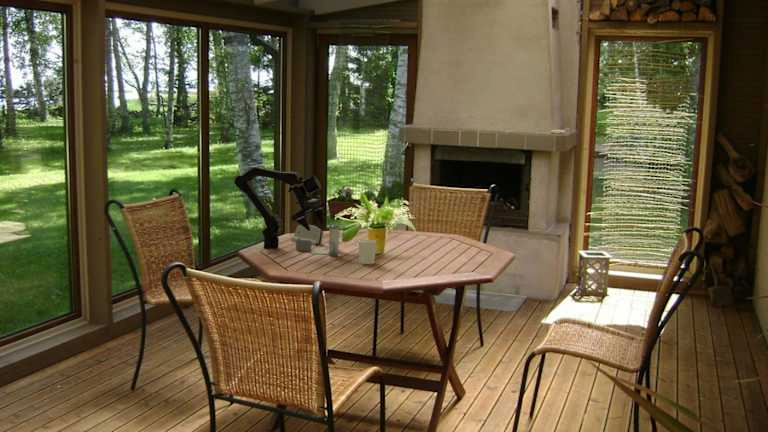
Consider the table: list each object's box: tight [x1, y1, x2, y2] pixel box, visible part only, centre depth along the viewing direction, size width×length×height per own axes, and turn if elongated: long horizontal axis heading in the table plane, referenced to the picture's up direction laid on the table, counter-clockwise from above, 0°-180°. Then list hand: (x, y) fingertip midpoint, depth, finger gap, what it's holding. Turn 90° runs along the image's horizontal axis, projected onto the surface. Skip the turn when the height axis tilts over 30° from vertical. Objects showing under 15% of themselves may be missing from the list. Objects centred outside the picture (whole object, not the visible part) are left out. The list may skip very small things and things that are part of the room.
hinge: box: [290, 224, 324, 247], centre depth 411 cm, size 17×5×10 cm, turn 53°
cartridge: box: [328, 224, 341, 258], centre depth 382 cm, size 5×5×14 cm
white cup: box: [358, 238, 377, 265], centre depth 370 cm, size 8×8×10 cm
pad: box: [310, 249, 329, 255], centre depth 388 cm, size 8×8×1 cm
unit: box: [295, 238, 312, 252], centre depth 393 cm, size 7×4×6 cm, turn 97°
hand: (316, 227), depth 389 cm, fingers open, 9 cm apart
